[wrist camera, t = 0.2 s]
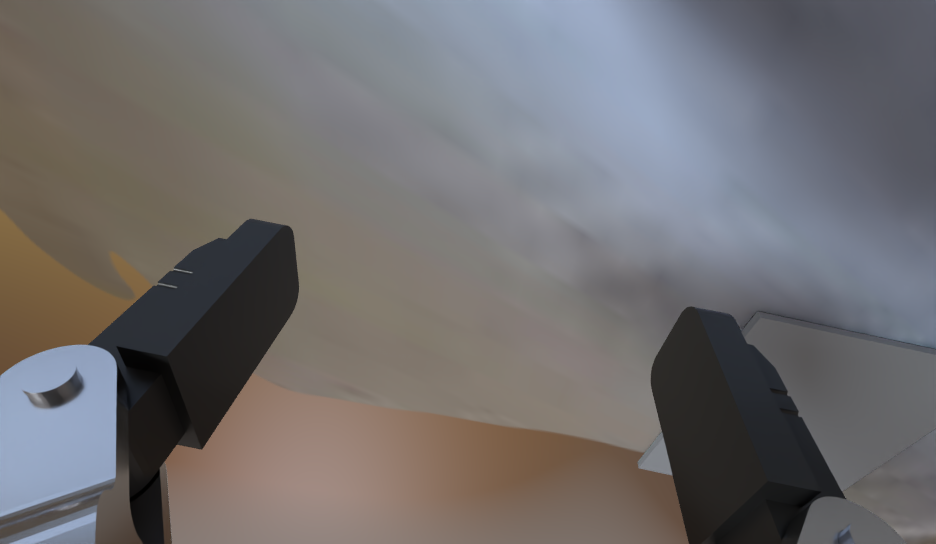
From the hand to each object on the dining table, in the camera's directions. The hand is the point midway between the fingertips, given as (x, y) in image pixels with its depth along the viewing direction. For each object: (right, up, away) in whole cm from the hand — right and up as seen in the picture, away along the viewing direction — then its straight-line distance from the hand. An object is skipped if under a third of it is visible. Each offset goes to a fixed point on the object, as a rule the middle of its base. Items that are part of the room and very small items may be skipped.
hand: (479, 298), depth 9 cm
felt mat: (+26, -11, +27) cm, 39 cm away
